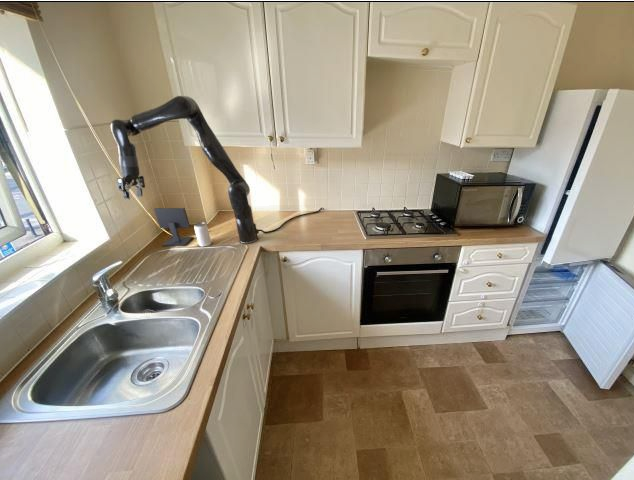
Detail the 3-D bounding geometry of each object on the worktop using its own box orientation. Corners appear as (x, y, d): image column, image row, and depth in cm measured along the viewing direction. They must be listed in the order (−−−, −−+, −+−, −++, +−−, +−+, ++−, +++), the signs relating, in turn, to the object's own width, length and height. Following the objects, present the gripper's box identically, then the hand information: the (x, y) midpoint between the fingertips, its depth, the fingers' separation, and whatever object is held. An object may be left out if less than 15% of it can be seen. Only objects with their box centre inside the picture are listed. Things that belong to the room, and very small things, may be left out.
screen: (161, 227, 156) (154, 208, 151) (190, 226, 157) (184, 207, 151) (160, 228, 155) (153, 208, 150) (189, 227, 155) (183, 208, 150)
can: (199, 242, 158) (193, 223, 152) (212, 241, 160) (206, 221, 154) (198, 247, 153) (192, 227, 147) (211, 245, 155) (206, 225, 149)
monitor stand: (172, 238, 163) (166, 219, 157) (193, 238, 164) (187, 218, 158) (163, 246, 155) (156, 225, 149) (185, 245, 155) (178, 225, 149)
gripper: (125, 167, 131) (130, 201, 137) (147, 165, 144) (150, 196, 150) (109, 164, 131) (115, 198, 137) (132, 162, 144) (137, 194, 150)
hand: (133, 197), depth 144 cm, fingers open, 8 cm apart
